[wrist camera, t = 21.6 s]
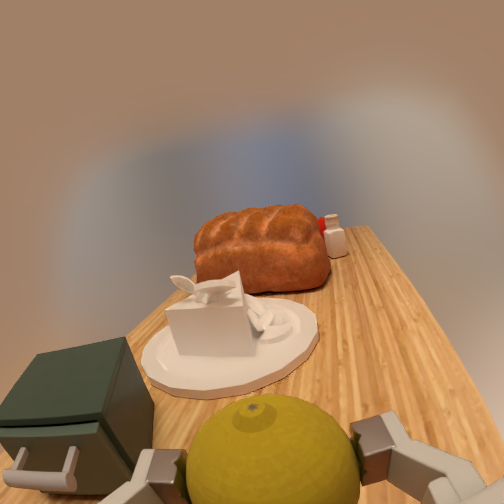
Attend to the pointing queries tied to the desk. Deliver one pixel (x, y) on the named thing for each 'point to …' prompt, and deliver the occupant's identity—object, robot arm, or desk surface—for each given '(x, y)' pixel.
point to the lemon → (272, 455)
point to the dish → (227, 341)
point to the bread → (263, 249)
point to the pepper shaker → (334, 237)
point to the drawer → (64, 459)
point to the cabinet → (86, 394)
